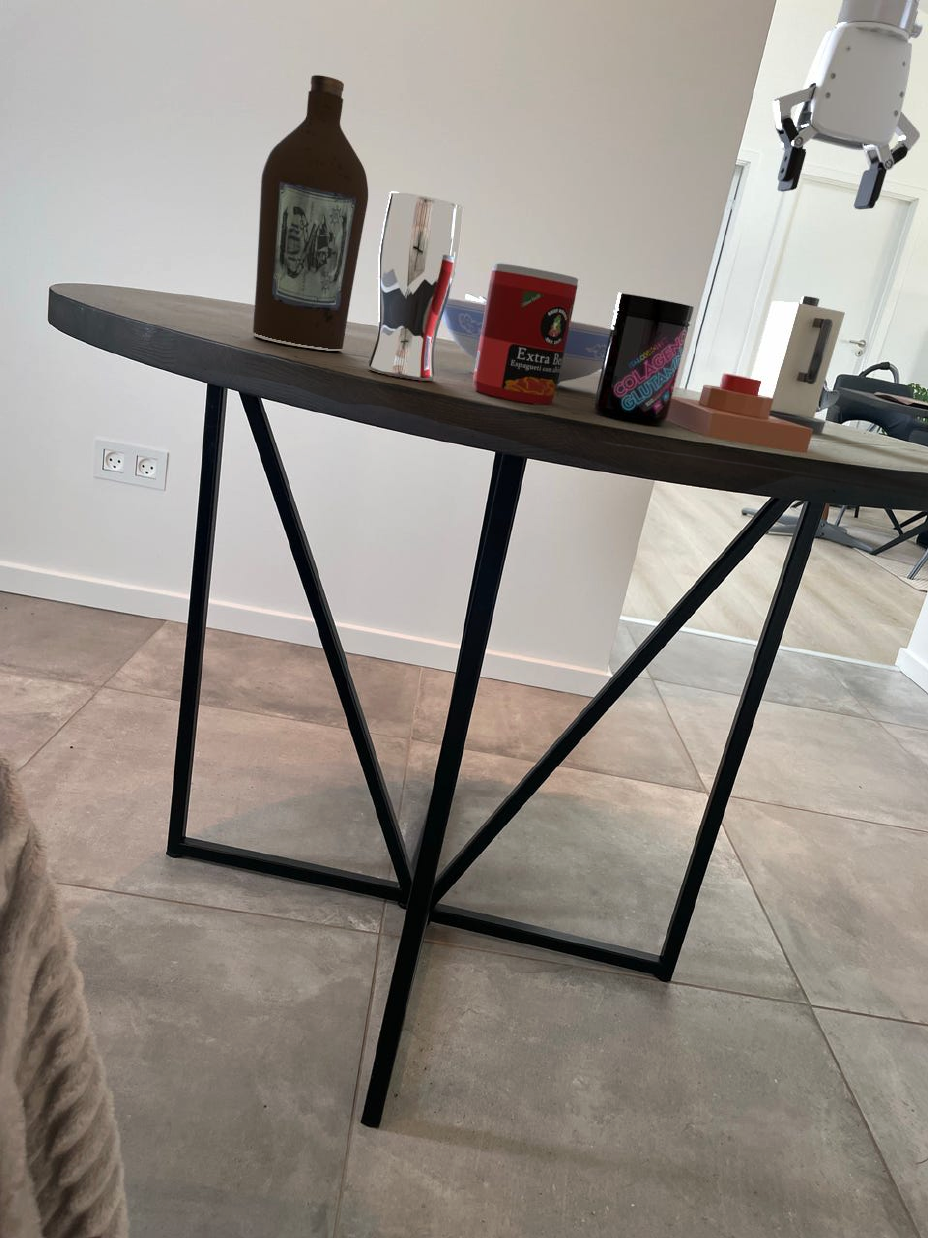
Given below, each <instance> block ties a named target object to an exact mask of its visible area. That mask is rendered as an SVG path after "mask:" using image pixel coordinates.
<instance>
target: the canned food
mask: <svg viewBox="0 0 928 1238" xmlns="http://www.w3.org/2000/svg"><path fill="white" fill-rule="evenodd" d="M578 282H579V278H577V277H575V276H573V275H567V274H563V273H559V272H555V271H549V270H543V269H538V268H533V267H529V266H521V265H516V264H509V263H502V262H495V263H493V266H492V269H491V273H490V280H489V283H488V289H487V295H486V299H487V300H486V303H485V305H486V306H485V312H484V318H483V323H482V329H481V335H480V341H479V347H478V353H477V358H476V360H475V366H474V370H473V377H472V383H473V389H474V391H475V392H477V391H478V392H477V393H479V394H483V395H486V396H490V397H494V398H498V399H502V400H508V401H512V402H519V403H524V404H530V405H551V404H552V402H553V400H554V398H555V396H556V394H557V388H558V385H559V384H558V379H559V374H560V369H561V364H562V360H563V355H564V350H565V345H566V341H567V336H568V331H569V326H570V322H571V321H572V317H573V311H574V307H575V302H576V295H577V292H578V287H579V285H578Z"/></svg>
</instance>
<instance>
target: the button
mask: <svg viewBox="0 0 928 1238" xmlns="http://www.w3.org/2000/svg"><path fill="white" fill-rule="evenodd" d="M761 383H762V381H761V380H757V379H752V377H747V376H741V375H736V374H731V373H726V372H725V373H722V377H721V381H720V383H719V387H720V389H724V390H728V391H733V392H738V393H743V394H748V395H754V396H758V394H759V390H760V387H761Z"/></svg>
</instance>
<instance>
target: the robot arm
mask: <svg viewBox="0 0 928 1238" xmlns="http://www.w3.org/2000/svg"><path fill="white" fill-rule="evenodd" d="M920 1H921V0H842V3H841V6H840V10H839V13H838V17H837V20H836V25H835V28H833V29H830V30H828V31H826V33H825V35H824V37H823V39H822V42H821V43H820V46H819V48H818V50H817V52H816V55H815V57H814V60H813V62H812V64H811V67H810V69H809V71H808V75H807V78H806V81H805V83H804V86H803V88H802V89H801V90H798V91H795V92H792V93H789V94H786V95H783V96H779V97H777V98H775V99H774V100H773V103H772V105H773V106H772V107H773V113H774V119H775V122H776V123H775V130H776V132H777V134H778V137H779V139H780V141H781V149H782V150H783V151H784V152H783V155H782V159H781V163H780V167H779V170H778V174H777V180H778V185H777V191H779V192H783V193H784V192H789V191H795V190H796V189H797V188H798V186H799V182H800V179H801V178H800V177H801V173H802V170H803V167H804V163H805V159H806V155H807V148H804V146H805V145H806V144H807V143H808V142H809V141H810V140H813V141H817V142H820V143H825V144H828V145H833V146H836V147H841V148H844V149H849V150H854V151H863V152H864V155H865V158H866V161H867V164H868V167H869V168H868V169H866V170H864V171H863V173H862V175H861V179H860V182H859V187H858V189H857V192H856V196H855V199H854V203H853V207H854V209H856V210H869V209H874V208H875V205H876V203H877V202H878V200H879V198H880V195H881V191H882V188H883V186H884V181H885V178H886V175H887V172H888V171H890V170H892V169H894V166H895V165H896V164H898V163H899V162H900V161H902V160H903V159H905V158H906V157H907V155H908V153H909V151H911V149H912V148H913V147H914V146H915V144H917V142H918V141H919V139H920V137H921V133H920V131H919V130H918V129H917V128H916V127H915V126H914V124H913V123H912V122H911V121H910V120H909V119H908V118H907V116H906V115H905V114H904V112H902V109H903V105H904V100H905V96H906V92H907V87H908V81H909V75H910V69H911V61H912V51H913V50H912V49H913V44H912V43H910V42H909V40H910V39H911V38H913V39H917V38H918V37H919V36H920V35H921V33H922V31H923V24H922V23H919V22H918V21H917V16H918V12H919V11H918V7H919V4H920ZM794 106H797V108H796V111H795V114H794V119H793V118H792V116H791V115H792V108H793V107H794ZM895 134H897V136H898V141H897V143H896V144H895V146H894V147H893V148H891V146H890V143H891V142H892V141H893V138H894V136H895Z"/></svg>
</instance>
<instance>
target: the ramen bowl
mask: <svg viewBox="0 0 928 1238" xmlns="http://www.w3.org/2000/svg"><path fill="white" fill-rule="evenodd" d="M466 300H469V301H466ZM486 300H487V297H485V296H481V295H480V296H479V298H478V297H476V296H474V295H472V294H470V293H465V298H464V300H461V299H455V298H450V297H449V298H448V301H447V304H446V307H445V309H444V312H443V315H442V320H443V321H444V324H445V326H446V328H447V330H448V332H449V335H450V336H451V337H452V339H453V341H454V342H455V344H457V346H458V347H459V348H460V349H462V351H463V352H465V354H467V355H469V356H470V357H471V358H472V359H474V360H475V361H476V358H477V353H478V347H479V341H480V335H481V329H482V323H483V318H484V312H485V306H486ZM477 302H479V303H477ZM610 330H611V327H606V326H605V327H604V326H599V325H594V324H590V323H583V322H580V321H574V320H571V322H570V326H569V331H568V336H567V341H566V345H565V350H564V355H563V360H562V364H561V369H560V374H559V379H558V384H557V385H559V384H560V383H562V382H568V381H572V380H576V379H580V378H583V377H588V376H590V375H592V374H595V373H597V372H598V371H600V370H602V366H603V361H604V357H605V352H606V348H607V343H608V339H609V334H610Z"/></svg>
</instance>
